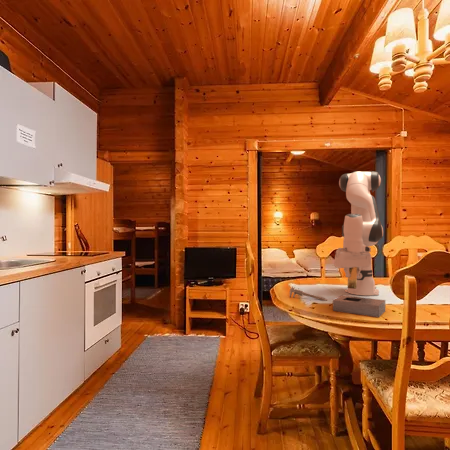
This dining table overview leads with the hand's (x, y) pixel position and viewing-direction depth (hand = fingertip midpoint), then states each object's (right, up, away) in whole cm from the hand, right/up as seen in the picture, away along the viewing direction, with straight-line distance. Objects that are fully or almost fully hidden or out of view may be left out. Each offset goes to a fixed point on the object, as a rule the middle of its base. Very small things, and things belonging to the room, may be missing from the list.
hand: (352, 277), depth 162 cm
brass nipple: (0, -5, 0) cm, 5 cm away
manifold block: (+2, -16, -2) cm, 16 cm away
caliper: (-15, -16, +25) cm, 33 cm away
